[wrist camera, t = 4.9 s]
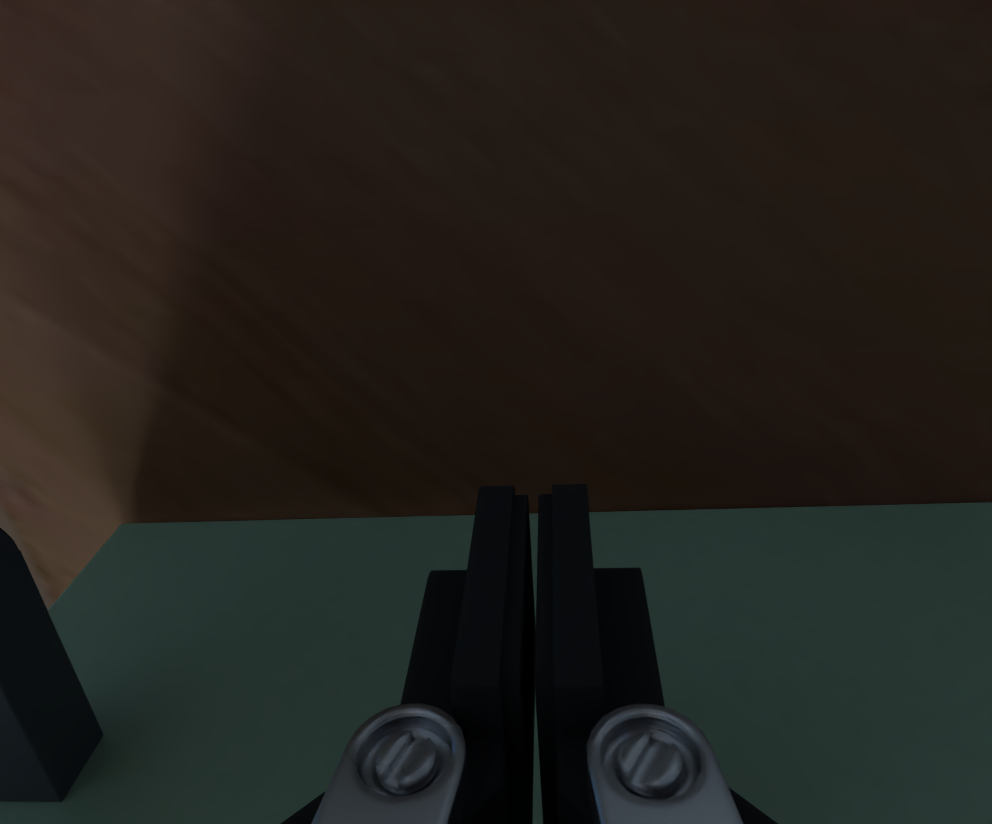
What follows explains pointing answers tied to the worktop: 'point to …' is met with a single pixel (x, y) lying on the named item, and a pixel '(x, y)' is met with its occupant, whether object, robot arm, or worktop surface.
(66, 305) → the worktop surface
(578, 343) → the worktop surface
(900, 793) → the cupboard door
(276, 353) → the worktop surface
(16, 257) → the worktop surface
